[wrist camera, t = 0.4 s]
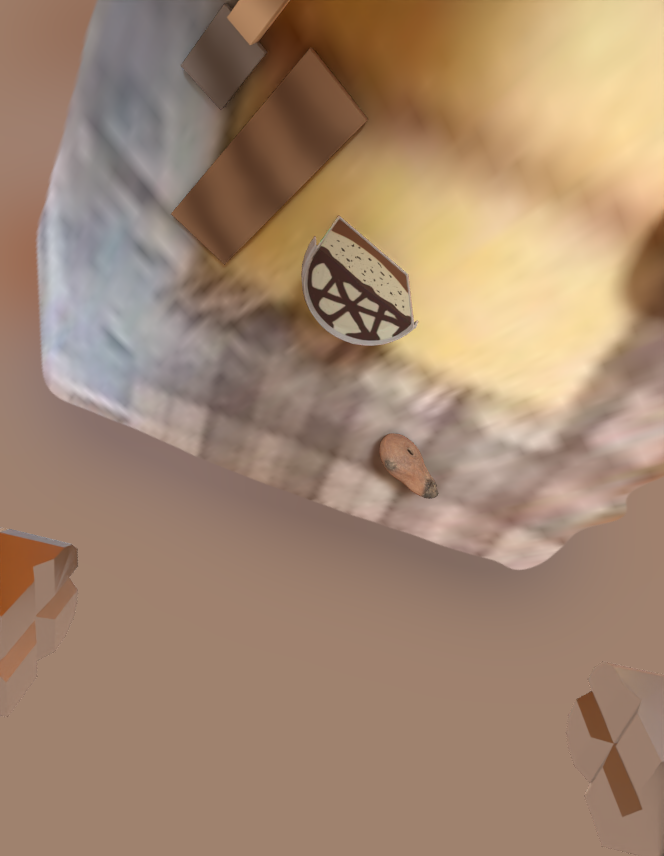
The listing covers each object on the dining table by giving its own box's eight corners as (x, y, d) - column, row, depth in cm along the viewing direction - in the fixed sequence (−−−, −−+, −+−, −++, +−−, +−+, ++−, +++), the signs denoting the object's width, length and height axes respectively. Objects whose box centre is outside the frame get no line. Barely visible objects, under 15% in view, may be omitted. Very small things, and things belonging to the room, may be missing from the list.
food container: (291, 251, 56) (270, 295, 48) (326, 205, 52) (310, 245, 45) (380, 321, 60) (374, 373, 52) (418, 283, 56) (418, 332, 49)
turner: (314, -121, 38) (308, -126, 36) (356, -60, 40) (352, -62, 37) (184, 64, 46) (172, 69, 44) (223, 107, 48) (214, 114, 46)
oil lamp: (445, 450, 71) (447, 495, 65) (427, 467, 74) (427, 512, 68) (390, 419, 69) (387, 462, 63) (372, 437, 71) (368, 481, 65)
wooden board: (311, 47, 44) (309, 48, 43) (367, 118, 47) (366, 120, 46) (174, 210, 55) (170, 213, 54) (226, 260, 57) (224, 264, 57)
